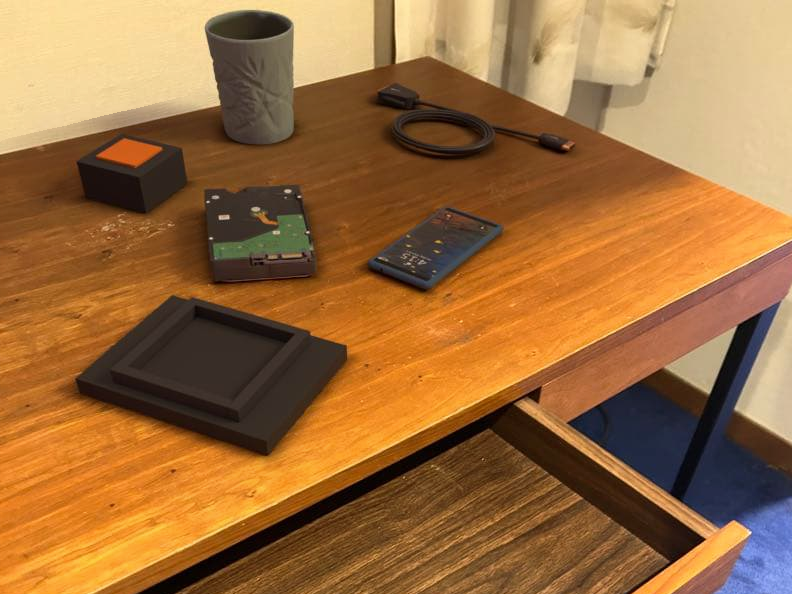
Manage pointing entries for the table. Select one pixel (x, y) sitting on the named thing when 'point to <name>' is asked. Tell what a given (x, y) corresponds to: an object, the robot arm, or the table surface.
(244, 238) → the disk drive
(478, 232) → the smartphone
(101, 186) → the black and orange block
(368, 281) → the table surface
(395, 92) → the cable
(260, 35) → the grey embossed cup
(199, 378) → the base pad
